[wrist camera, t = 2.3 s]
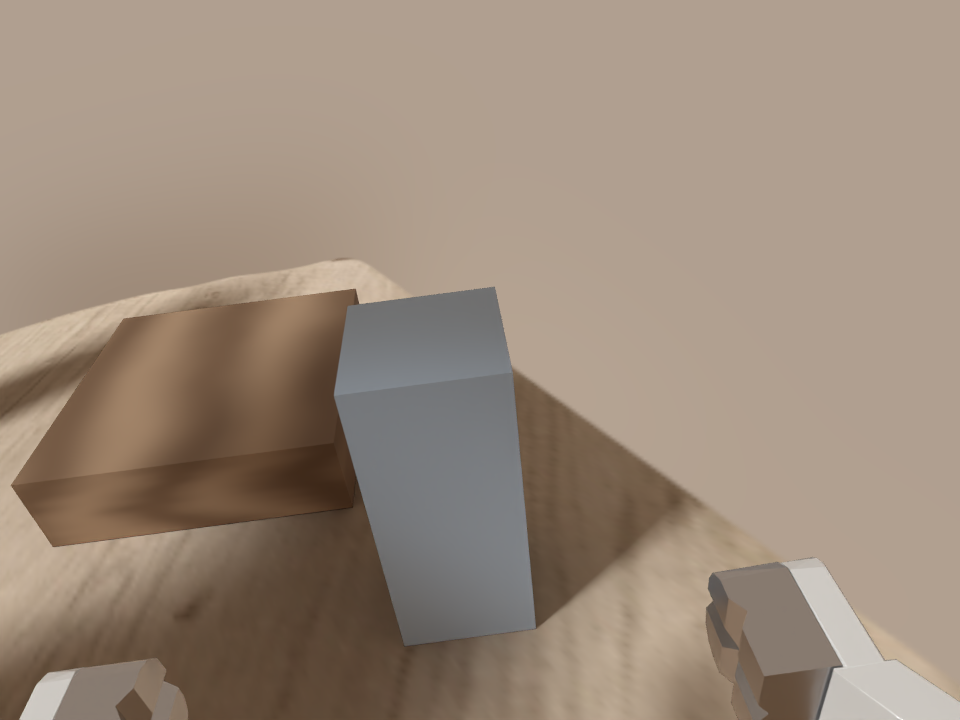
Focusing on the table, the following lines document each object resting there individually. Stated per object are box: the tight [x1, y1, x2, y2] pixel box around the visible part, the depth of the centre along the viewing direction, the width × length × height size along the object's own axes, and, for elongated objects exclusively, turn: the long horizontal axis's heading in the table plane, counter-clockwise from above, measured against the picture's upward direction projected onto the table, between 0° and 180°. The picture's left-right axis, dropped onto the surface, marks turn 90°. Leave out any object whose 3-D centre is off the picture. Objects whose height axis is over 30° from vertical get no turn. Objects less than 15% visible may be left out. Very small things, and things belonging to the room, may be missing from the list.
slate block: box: [334, 287, 536, 646], centre depth 24 cm, size 5×5×12 cm
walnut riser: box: [11, 289, 359, 547], centre depth 36 cm, size 14×14×4 cm
